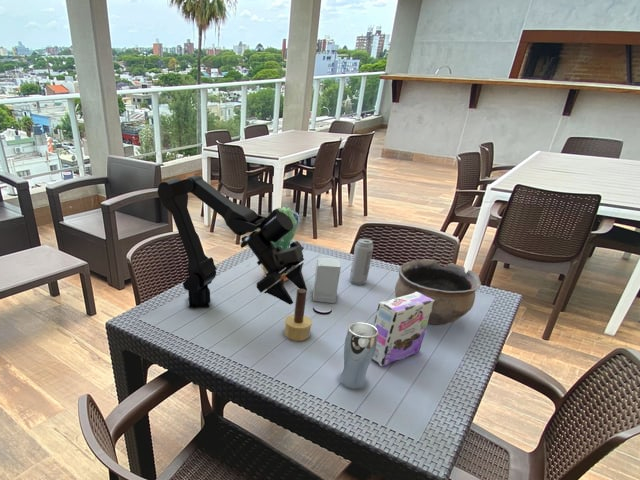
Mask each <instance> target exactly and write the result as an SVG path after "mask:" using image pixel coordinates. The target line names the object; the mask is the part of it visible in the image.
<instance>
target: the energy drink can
mask: <svg viewBox="0 0 640 480" xmlns="http://www.w3.org/2000/svg"><path fill="white" fill-rule="evenodd" d="M374 247H375V246H374V243H373V240H372V239H368V238H359V239H358V240H357V242H356V243H355V245H354V251H353V257H352V261H351V268H350V273H349V280H350V282H351V283H352V284H354V285H364V284H365V283H366V282H367V281H368V276H369V272H370V267H371V261H372V256H373V252H374Z"/></svg>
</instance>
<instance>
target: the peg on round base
mask: <svg viewBox="0 0 640 480" xmlns="http://www.w3.org/2000/svg"><path fill="white" fill-rule="evenodd" d="M307 293H308V290H307V291H306V290H305V289H299V288H297V289H296V295H295V305H294V306H295V307H294V313H293V314H290V315H288V316H286V317H285V318H284V325H285V324H286V325H287V326H289V327H291V328H294V329H307V328H309V327H310V326H312V325H313V321H312V319H311V318H310V317H308V316H306V315H305V309H306V300H307ZM310 328H311V327H310Z"/></svg>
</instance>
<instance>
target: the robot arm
mask: <svg viewBox="0 0 640 480" xmlns="http://www.w3.org/2000/svg"><path fill="white" fill-rule="evenodd" d="M156 192H157V196H158V198H159V200H160V202H161V204H162V207H164V208H165V209H166V210H167V211H168V212H169V213H170V214H171V216H172V219H173V222H174V223H175V227H176V229H177V232H178V235H179V238H180V240H181V243H182V246H183V248H184V251H185V253H186V256H187V259H188V260H187V261H188V262H187V273H188V274H187V275H188V277H187V279H185V280H184V281H183V282H182V287H183V289H184V290H185V291H187V292H188V293H187V294H188V297H187V303H188V309H201V308H209V307H210V303H211V290H210V288H209V285H210V284H212V282H213V281H214V279H216V276H217V270H218V268H217V266H216V265H215V262H214V258H213V257H212V256H210V257H208V256H207V255H206V254H205V253H204V251H203V247H202V245H201V241H200V239H199V236H198V234H197V231H196V229H195V226H194V223H193V220H192V217H191V214H190V211H189V209H188V204H189V194H188V193H190V194H192V195H193V196H194V197H196V198H197V199H198V200H200V201H201V202H202V203H204V204H205V205H207V206H208V207H209V208H210V209H211V210H213V211H214V212H216V213H217V214H218V215H220V217H222V218H223V221H224V222H225V225H226V226H227V227H228V228H229V229H230V230H231V231H232V232H233V233H234V234H235V235H236V236H242V237H241V239H240V240H241V243H240V248H241V249H243V248H245V247H247V246H248V247H249V249H250V250H251V251H252V253H253V254H254V256H255V257H256V259H257V258H258V259H257V262H256V264H257V265H258V266H261V265H260V264H262V265H263V266H264V268H265V269H266V271H267V272H268V273H267V274H266V276H265V275H264V277H262V278H261V279H260V280H259V281H257V282H256V289H257V290H258V291H259V293H260V294H262V293H264V294H267V295H270V296H272V297H274V298H277V299H278V300H280V301H282V302H284V303H286V304H288V305H290V306H291V305H292V304H294V301H293V299H292V297H291V295H290V293H289V292H288V291H287V289H286V287H285V284H284V283H285V281H284V278H283V279H281V280H280V278H281V275H282V274H283V273H288V274H286V275H285V276H286V277H287V278H288V281H290V282H291V283H293V285H295V286H296V287H297V289H305V290H306V291H307V292H308V288H307V284H306V282H305V278H304V276H303V266H304V262H303V261H305V258H304V254H303V253H304V252H303V250H305V247H304V246H302V244H301V243H300V242H299V240H296V241H291V242H290V245H289V248H287V249H284V250H283V249H282V248H281V247H279V246H278V247H275V245H274V244H273V243H272V242H277V241H279V240H280V239H281V238H282V237H283V236H285V235H286V234H287V233H288V232H290V231H291V230H292V229H293V223H292V220H291V219H290V217H289V216H287V215H286V214H284V213H283V212H280V211H279V210H278V208H274V209H272V211H271V212H270V213H269V215H268V216H264V215H261V214H258V213H257V212H256V211H255V210H254V209H251V208H250V207H248V206H246V205H243V204H240V203H236V202H234V201H232V200H231V199H230V198H228V197H227V196H225V195H224V194H222V192H220V191H219V190H218V189H216V188H215V187H214V186H212V185H211V184H210V183H209V182H207V181H206V180H204V178H203V177H202V176H201V175H199V174H195V175H192V176H188V177H186V178H184V179H181V178H179V177H175V178H171V179H168V180H165V181H161V182H160V183H159V184H158V187H157V189H156ZM258 229H259V231H258ZM248 233H250V234H249V235H246V234H248ZM258 260H259V261H258Z"/></svg>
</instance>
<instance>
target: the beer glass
mask: <svg viewBox="0 0 640 480" xmlns="http://www.w3.org/2000/svg"><path fill="white" fill-rule="evenodd" d="M345 335H346V336H345V340H344V344H343V369H342V372H341V374H340V377H339V381H340V383H341V385H342V386H344V387H346V388H348V389H351V390H360V389H363V388H364V387H365V386H366V382H367V381H366V379H367V378H366V376H367V372H368V368H369V366H370V364H371V362H372V361H373V360H372V358H373V355H374V352H375V349H376V344H377V336H378V330H377V328H376V327H374V324H373V325H372V324H370V323H367V322H362V321H361V322H359V321H358V322H353V323H351V324H349V325H348V329H347V332H346V334H345Z"/></svg>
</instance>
